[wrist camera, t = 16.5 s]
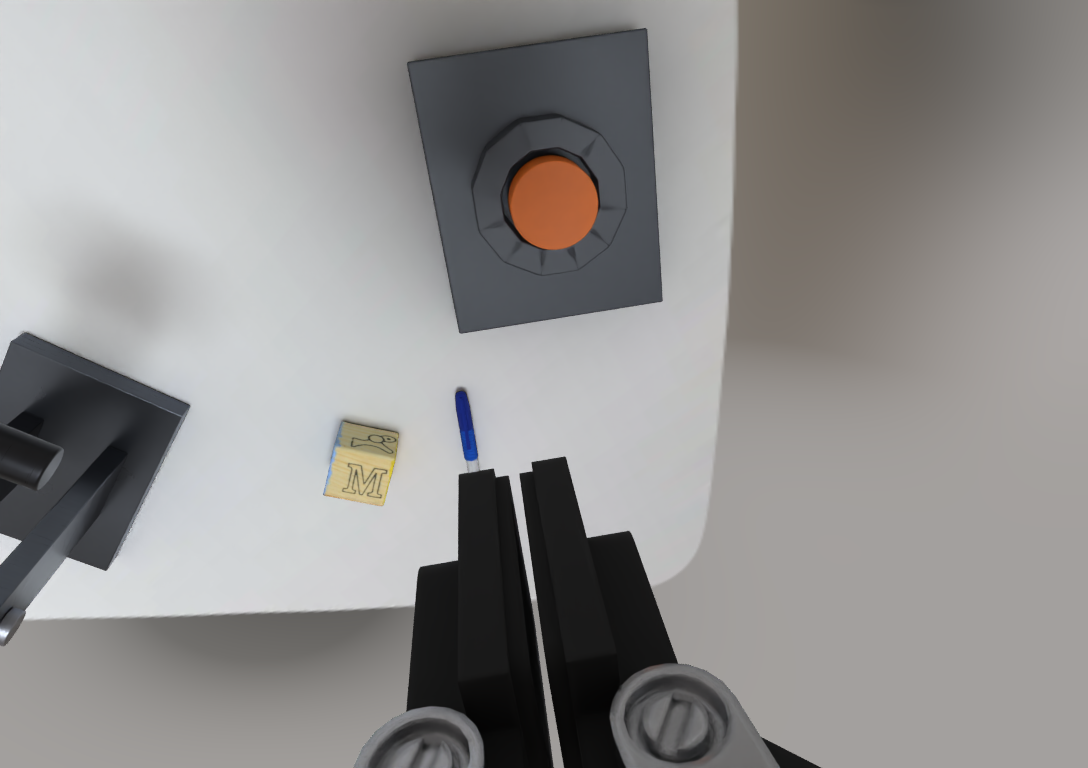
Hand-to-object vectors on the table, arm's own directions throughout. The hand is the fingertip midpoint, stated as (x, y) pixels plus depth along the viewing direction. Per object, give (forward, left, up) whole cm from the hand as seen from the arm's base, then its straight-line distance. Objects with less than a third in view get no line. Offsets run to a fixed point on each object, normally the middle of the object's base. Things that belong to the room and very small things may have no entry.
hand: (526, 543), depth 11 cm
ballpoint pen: (+14, -3, -25) cm, 29 cm away
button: (-1, +3, -21) cm, 22 cm away
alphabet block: (+12, -8, -25) cm, 29 cm away
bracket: (+9, -23, -25) cm, 35 cm away
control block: (-1, +3, -25) cm, 25 cm away
